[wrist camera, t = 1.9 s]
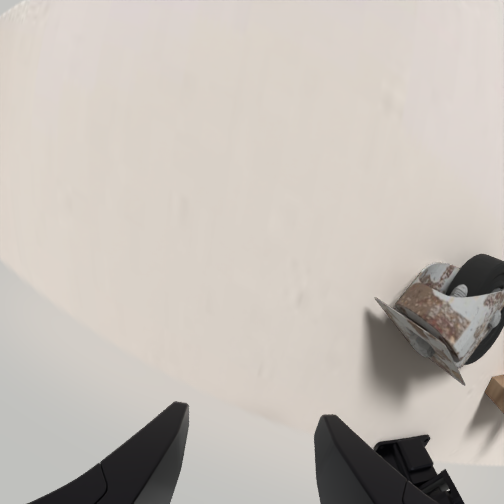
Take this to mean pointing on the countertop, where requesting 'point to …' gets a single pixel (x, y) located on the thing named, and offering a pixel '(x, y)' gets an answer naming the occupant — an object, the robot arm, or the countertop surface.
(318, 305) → the countertop surface
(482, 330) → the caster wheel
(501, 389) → the cradle
